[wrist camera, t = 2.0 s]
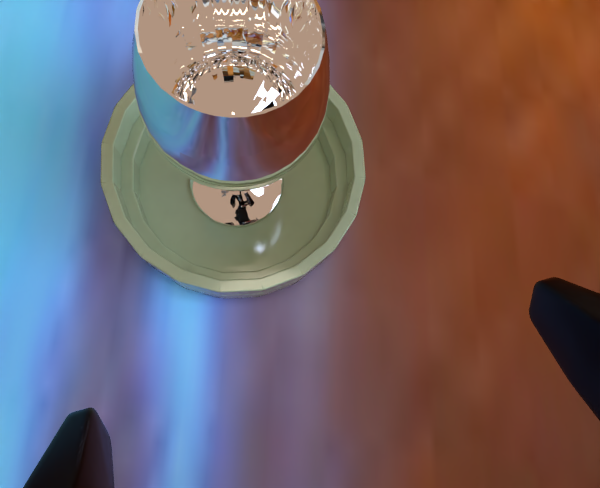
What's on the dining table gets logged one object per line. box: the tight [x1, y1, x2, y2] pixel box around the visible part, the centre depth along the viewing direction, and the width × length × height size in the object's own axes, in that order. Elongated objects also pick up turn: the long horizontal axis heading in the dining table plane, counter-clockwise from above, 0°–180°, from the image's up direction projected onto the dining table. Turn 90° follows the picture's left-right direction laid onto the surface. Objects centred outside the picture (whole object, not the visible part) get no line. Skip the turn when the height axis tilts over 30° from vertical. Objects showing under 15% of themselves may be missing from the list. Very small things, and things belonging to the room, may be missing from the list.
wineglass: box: [132, 0, 330, 228], centre depth 18 cm, size 6×6×12 cm
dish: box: [101, 83, 365, 298], centre depth 23 cm, size 11×11×3 cm
